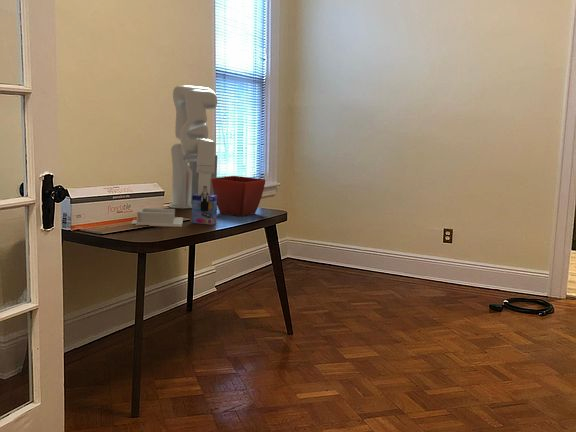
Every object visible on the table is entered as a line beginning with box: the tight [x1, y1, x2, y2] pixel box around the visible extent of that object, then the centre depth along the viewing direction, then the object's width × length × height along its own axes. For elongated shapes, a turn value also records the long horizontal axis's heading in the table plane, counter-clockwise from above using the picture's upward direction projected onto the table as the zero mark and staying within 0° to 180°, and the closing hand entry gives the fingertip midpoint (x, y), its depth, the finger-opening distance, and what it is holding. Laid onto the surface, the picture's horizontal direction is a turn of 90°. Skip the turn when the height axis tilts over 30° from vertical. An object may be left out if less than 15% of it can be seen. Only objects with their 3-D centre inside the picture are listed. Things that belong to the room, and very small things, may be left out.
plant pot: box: [212, 175, 266, 217], centre depth 276 cm, size 19×19×17 cm
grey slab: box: [188, 154, 218, 203], centre depth 307 cm, size 14×6×25 cm, turn 123°
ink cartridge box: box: [191, 190, 218, 226], centre depth 248 cm, size 10×6×14 cm, turn 83°
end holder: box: [131, 207, 184, 228], centre depth 244 cm, size 16×20×5 cm
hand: (204, 209), depth 248 cm, fingers open, 9 cm apart
